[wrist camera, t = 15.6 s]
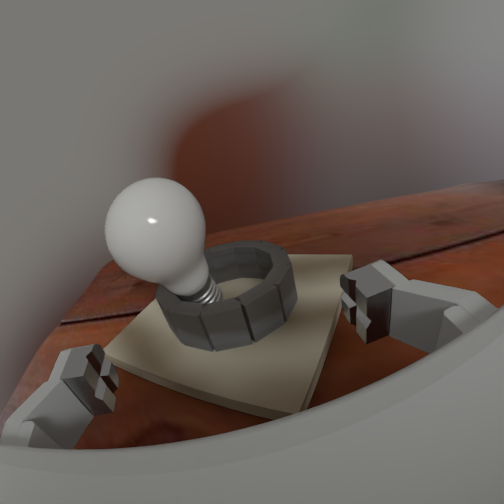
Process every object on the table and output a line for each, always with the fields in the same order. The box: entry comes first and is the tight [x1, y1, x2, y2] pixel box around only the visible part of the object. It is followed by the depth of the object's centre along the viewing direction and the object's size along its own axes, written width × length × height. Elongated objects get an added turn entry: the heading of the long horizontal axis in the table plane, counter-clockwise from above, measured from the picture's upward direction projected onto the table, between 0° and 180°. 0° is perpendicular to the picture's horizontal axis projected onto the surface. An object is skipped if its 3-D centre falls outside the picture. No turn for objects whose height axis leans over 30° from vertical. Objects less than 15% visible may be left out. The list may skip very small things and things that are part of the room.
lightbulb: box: [105, 178, 223, 304], centre depth 19 cm, size 6×6×11 cm
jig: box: [103, 241, 353, 420], centre depth 22 cm, size 16×16×4 cm
